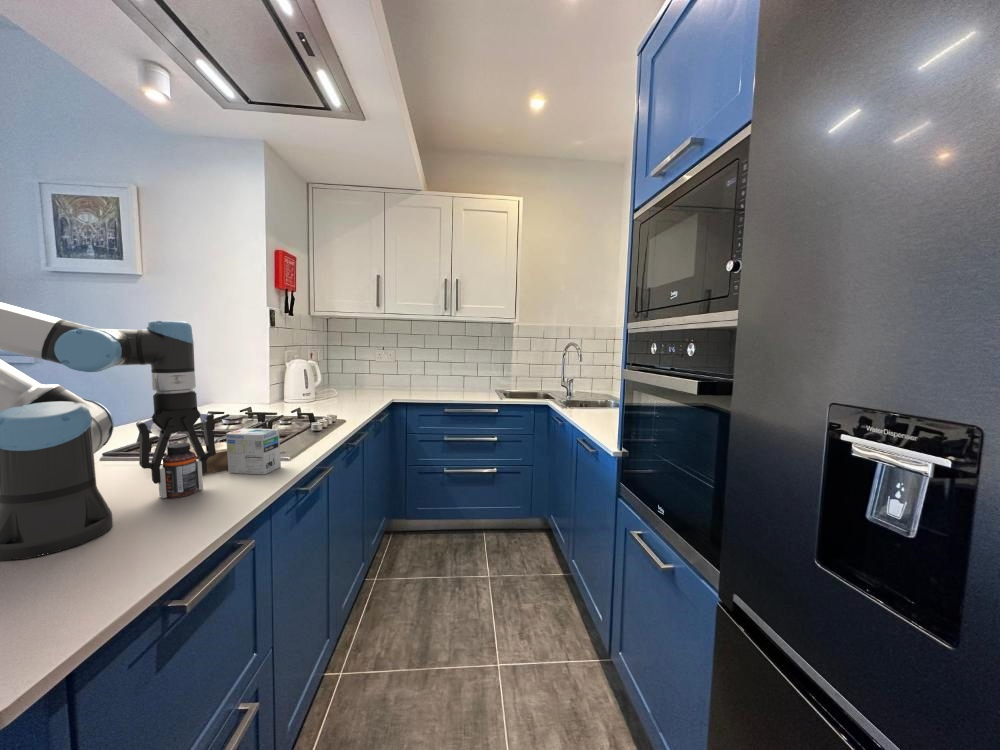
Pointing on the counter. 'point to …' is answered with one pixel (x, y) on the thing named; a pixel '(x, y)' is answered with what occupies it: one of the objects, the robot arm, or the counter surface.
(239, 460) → the light bulb box
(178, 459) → the supplement bottle
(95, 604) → the counter surface
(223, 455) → the walnut riser
